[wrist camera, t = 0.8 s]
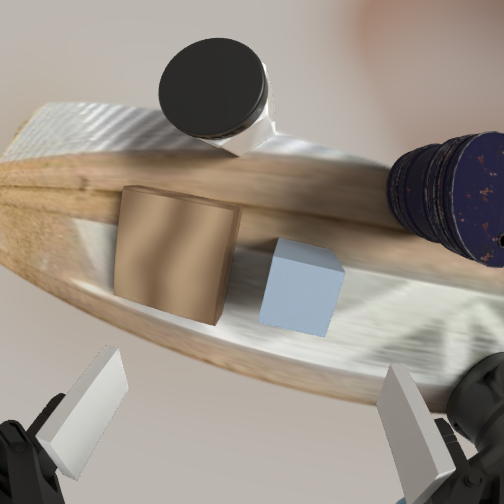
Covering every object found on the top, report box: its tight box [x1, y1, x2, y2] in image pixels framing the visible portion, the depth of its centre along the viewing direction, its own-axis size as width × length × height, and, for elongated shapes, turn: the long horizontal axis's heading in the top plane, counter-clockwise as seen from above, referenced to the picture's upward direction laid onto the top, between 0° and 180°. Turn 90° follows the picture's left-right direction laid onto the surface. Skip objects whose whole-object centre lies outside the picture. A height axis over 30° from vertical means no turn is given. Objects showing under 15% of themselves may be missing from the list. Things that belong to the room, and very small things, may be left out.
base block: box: [113, 185, 243, 326], centre depth 33 cm, size 13×13×4 cm
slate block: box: [258, 237, 345, 337], centre depth 29 cm, size 6×6×9 cm
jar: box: [159, 38, 276, 157], centre depth 25 cm, size 9×8×12 cm
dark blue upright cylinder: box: [386, 131, 504, 268], centre depth 22 cm, size 10×10×15 cm
